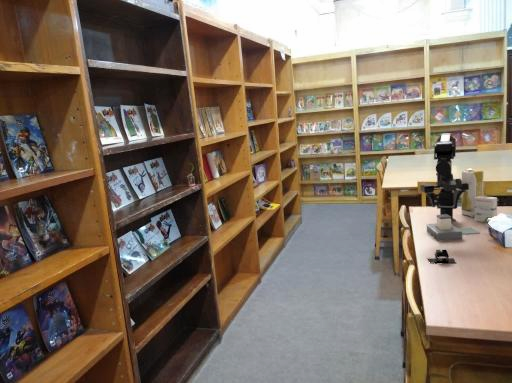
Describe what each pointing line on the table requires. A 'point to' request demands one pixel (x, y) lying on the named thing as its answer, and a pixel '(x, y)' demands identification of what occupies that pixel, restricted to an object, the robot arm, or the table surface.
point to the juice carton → (471, 190)
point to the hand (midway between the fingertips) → (444, 206)
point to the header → (444, 232)
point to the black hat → (441, 260)
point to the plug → (443, 222)
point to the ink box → (485, 208)
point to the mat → (468, 231)
